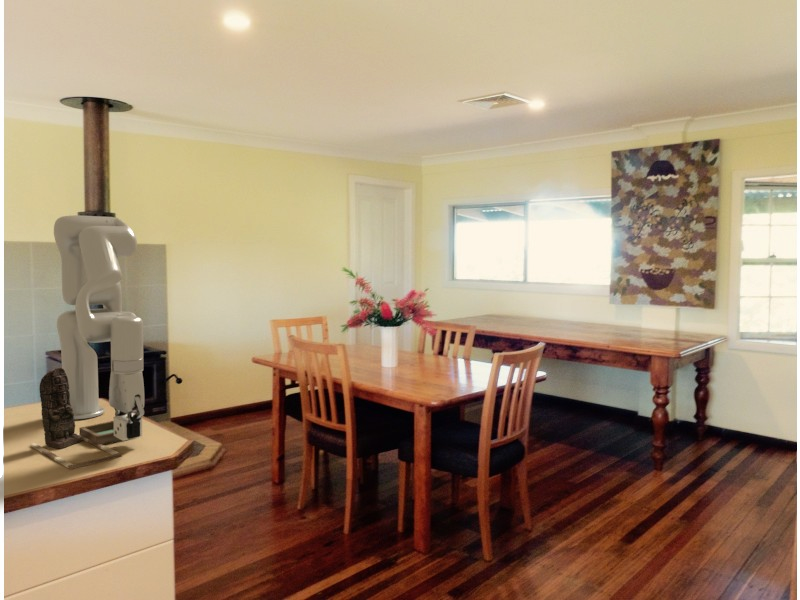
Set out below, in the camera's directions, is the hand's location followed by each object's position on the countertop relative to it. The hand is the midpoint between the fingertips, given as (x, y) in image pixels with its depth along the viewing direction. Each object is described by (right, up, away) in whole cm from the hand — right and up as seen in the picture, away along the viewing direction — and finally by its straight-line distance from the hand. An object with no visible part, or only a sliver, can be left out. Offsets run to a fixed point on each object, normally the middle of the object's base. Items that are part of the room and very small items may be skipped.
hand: (128, 433), depth 159 cm
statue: (-18, -3, +1) cm, 18 cm away
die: (0, -1, 0) cm, 1 cm away
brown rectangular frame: (-12, -3, -3) cm, 13 cm away
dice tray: (-8, -2, +8) cm, 12 cm away
